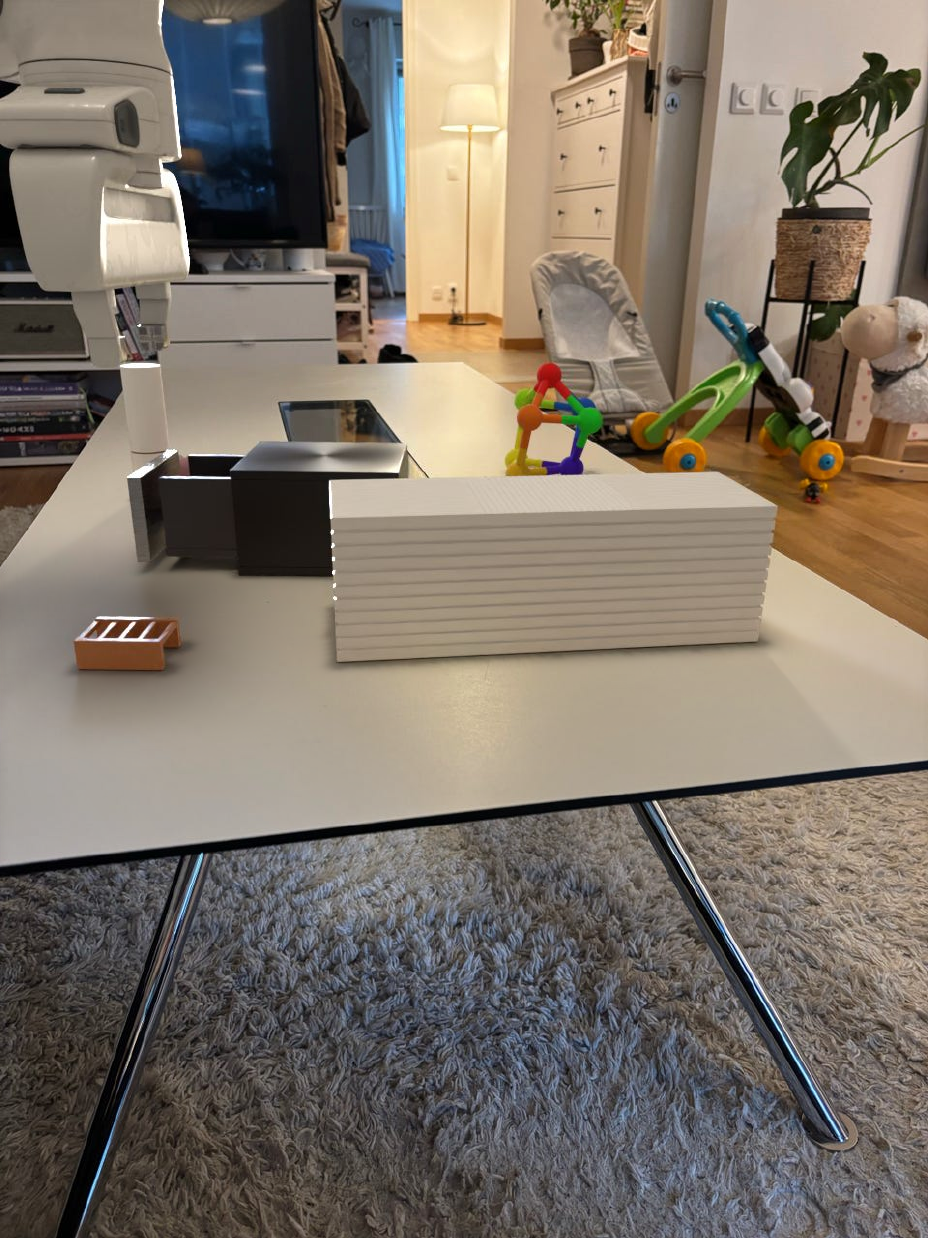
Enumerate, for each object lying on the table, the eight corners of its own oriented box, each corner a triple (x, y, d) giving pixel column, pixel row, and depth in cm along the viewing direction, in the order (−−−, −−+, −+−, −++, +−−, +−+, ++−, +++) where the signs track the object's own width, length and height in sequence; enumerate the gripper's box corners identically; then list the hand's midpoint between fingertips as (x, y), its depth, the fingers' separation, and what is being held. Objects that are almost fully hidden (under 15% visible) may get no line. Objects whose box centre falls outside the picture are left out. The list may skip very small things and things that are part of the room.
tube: (164, 503, 104) (149, 368, 98) (129, 501, 105) (112, 367, 99) (181, 494, 108) (167, 363, 102) (147, 492, 109) (131, 362, 103)
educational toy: (612, 498, 113) (625, 376, 106) (510, 501, 111) (516, 377, 104) (578, 459, 126) (588, 349, 119) (487, 461, 124) (491, 349, 117)
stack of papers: (703, 593, 79) (718, 471, 75) (757, 642, 70) (778, 505, 66) (334, 608, 75) (329, 479, 71) (336, 662, 65) (330, 517, 61)
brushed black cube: (238, 575, 82) (229, 470, 78) (266, 533, 94) (259, 441, 90) (400, 577, 82) (398, 472, 78) (408, 535, 94) (407, 442, 90)
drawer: (124, 561, 82) (112, 477, 79) (162, 525, 93) (154, 449, 90) (286, 564, 82) (281, 479, 79) (306, 527, 93) (302, 451, 90)
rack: (77, 669, 64) (72, 640, 63) (101, 643, 68) (96, 616, 67) (163, 670, 64) (159, 642, 63) (181, 644, 68) (178, 617, 67)
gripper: (112, 144, 66) (137, 342, 71) (-26, 103, 47) (22, 377, 52) (199, 144, 66) (218, 342, 71) (96, 103, 47) (132, 377, 52)
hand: (134, 357), depth 62 cm, fingers open, 8 cm apart
